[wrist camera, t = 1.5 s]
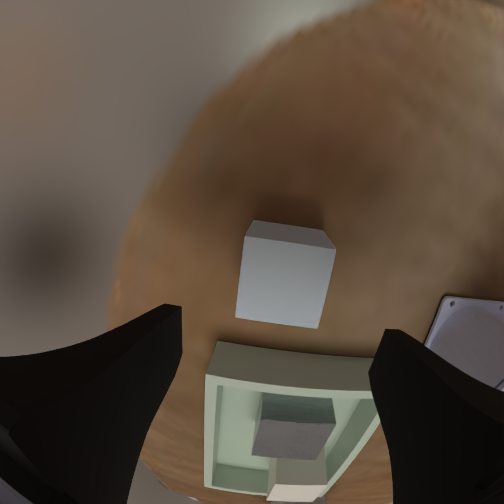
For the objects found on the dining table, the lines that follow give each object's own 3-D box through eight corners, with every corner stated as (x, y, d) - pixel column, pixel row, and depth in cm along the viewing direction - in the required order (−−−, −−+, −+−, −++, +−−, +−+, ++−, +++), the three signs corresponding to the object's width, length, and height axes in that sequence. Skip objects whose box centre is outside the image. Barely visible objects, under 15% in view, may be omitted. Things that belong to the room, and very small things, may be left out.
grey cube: (323, 230, 17) (336, 249, 13) (310, 293, 19) (317, 328, 15) (253, 219, 18) (244, 235, 13) (245, 284, 19) (235, 317, 15)
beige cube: (324, 447, 23) (327, 485, 18) (311, 467, 24) (312, 501, 20) (277, 445, 23) (275, 484, 18) (269, 465, 25) (266, 500, 20)
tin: (330, 388, 20) (336, 424, 16) (313, 426, 22) (315, 459, 18) (264, 382, 21) (260, 418, 17) (255, 421, 22) (251, 455, 18)
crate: (384, 358, 20) (399, 390, 16) (320, 472, 25) (321, 496, 22) (217, 340, 20) (205, 374, 17) (210, 461, 26) (204, 486, 22)
